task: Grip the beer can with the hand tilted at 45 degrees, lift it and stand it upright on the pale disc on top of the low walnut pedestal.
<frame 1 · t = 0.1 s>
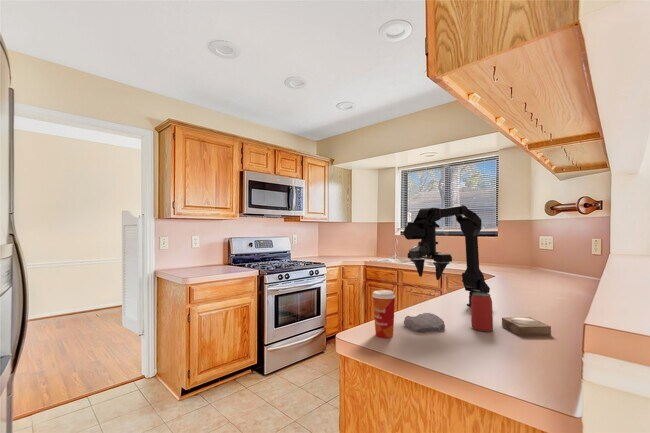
hand: (428, 278, 124), 15 cm above the countertop, tool pointing down, fingers open, 9 cm apart
walnut pedestal: (525, 330, 104), on the countertop
beer can: (482, 329, 107), on the countertop
paper cup: (384, 335, 102), on the countertop
stone block: (425, 329, 109), on the countertop
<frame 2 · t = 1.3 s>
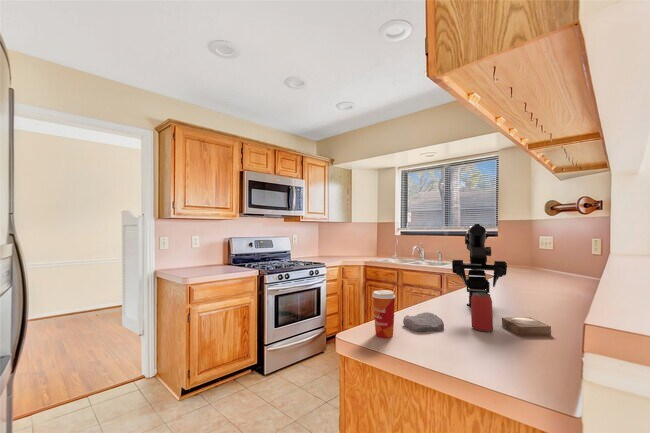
hand: (479, 285, 114), 13 cm above the countertop, tool tilted 45°, fingers open, 9 cm apart
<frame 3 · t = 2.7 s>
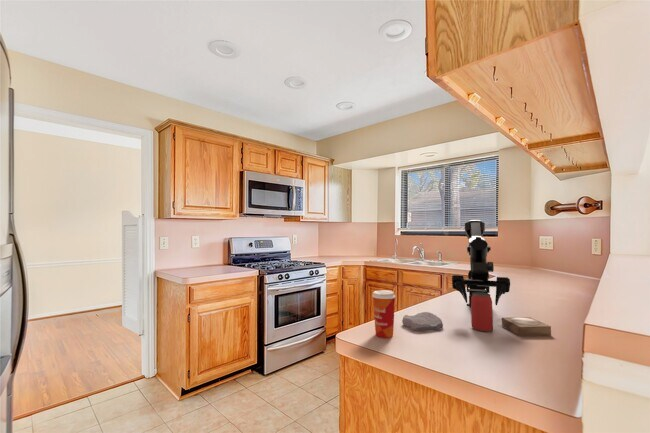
hand: (481, 303, 108), 9 cm above the countertop, tool tilted 45°, fingers open, 9 cm apart
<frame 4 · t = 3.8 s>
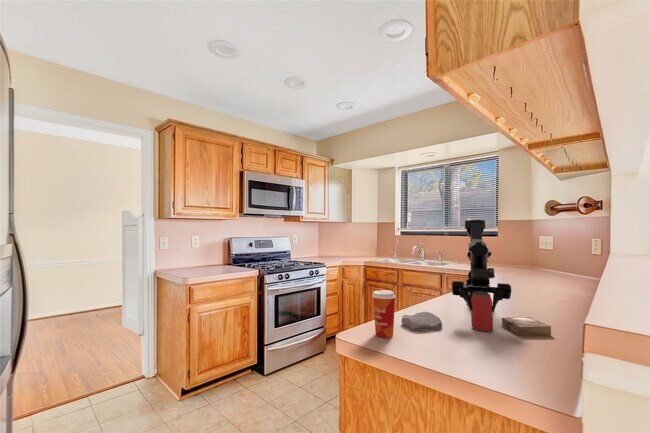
hand: (481, 310, 106), 7 cm above the countertop, tool tilted 45°, fingers closed on beer can, 6 cm apart
beer can: (482, 329, 107), on the countertop, touching gripper
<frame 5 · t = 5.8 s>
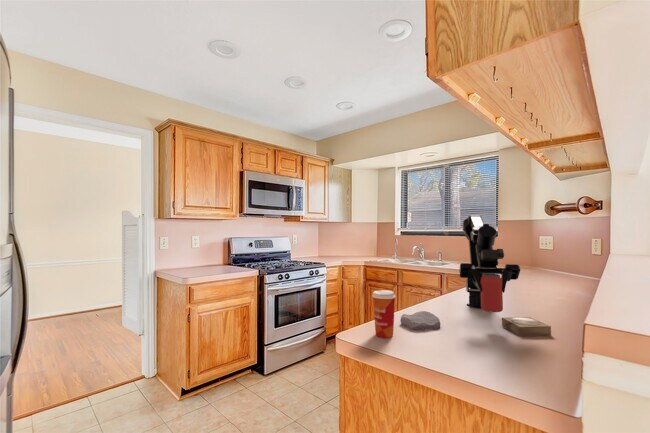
hand: (492, 291, 105), 13 cm above the countertop, tool tilted 45°, fingers closed on beer can, 6 cm apart
beer can: (491, 310, 106), point 6 cm above the countertop, touching gripper
when the fingers open (11 cm above the countertop, at t = 7.6 s): beer can stays where it is, resting on walnut pedestal.
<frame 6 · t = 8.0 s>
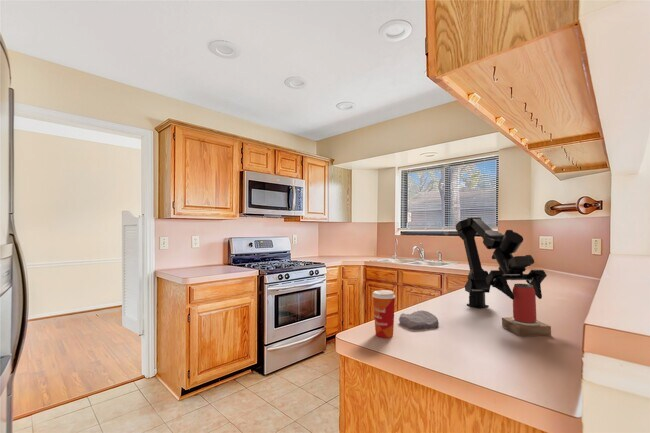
hand: (527, 298, 103), 11 cm above the countertop, tool tilted 45°, fingers open, 9 cm apart
beer can: (524, 321, 105), point 3 cm above the countertop, touching walnut pedestal
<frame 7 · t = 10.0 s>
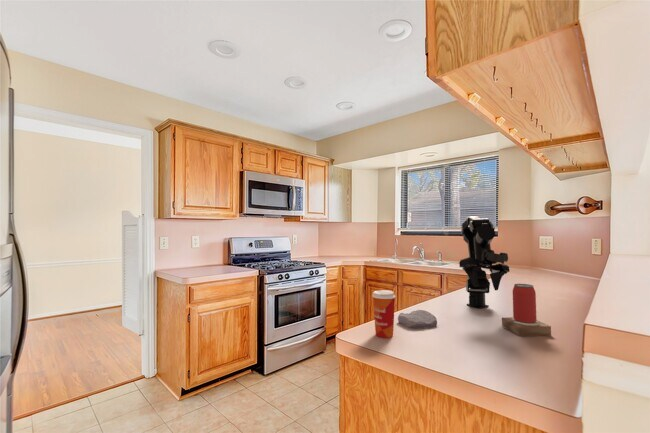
hand: (486, 288, 116), 12 cm above the countertop, tool tilted 20°, fingers open, 9 cm apart
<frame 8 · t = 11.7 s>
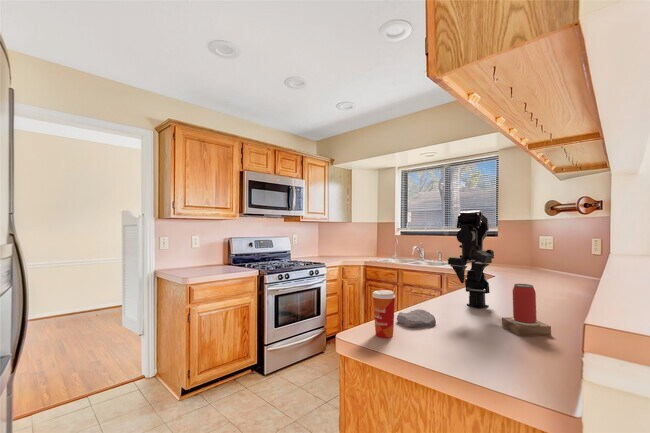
hand: (470, 282, 124), 13 cm above the countertop, tool pointing down, fingers open, 9 cm apart
at the end: beer can 0.2 cm off-centre on the walnut pedestal, point 3.0 cm above the walnut pedestal's base; beer can tilted 0°; the gripper is holding nothing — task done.
